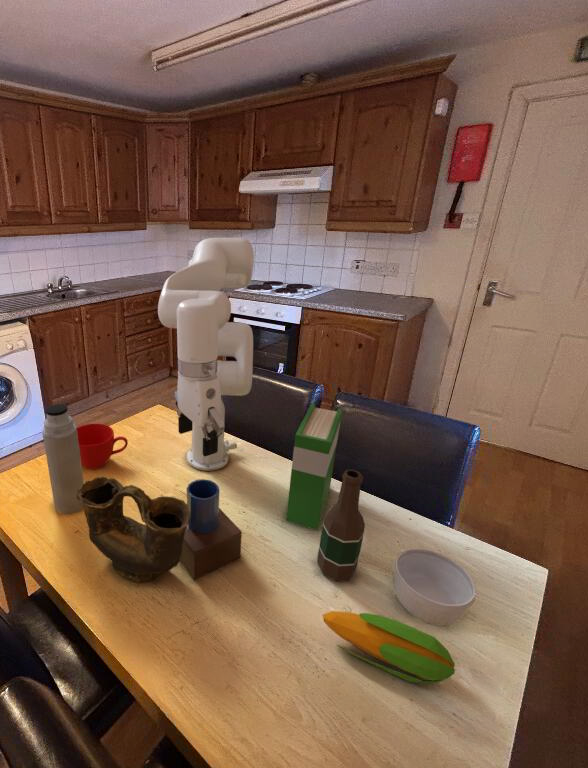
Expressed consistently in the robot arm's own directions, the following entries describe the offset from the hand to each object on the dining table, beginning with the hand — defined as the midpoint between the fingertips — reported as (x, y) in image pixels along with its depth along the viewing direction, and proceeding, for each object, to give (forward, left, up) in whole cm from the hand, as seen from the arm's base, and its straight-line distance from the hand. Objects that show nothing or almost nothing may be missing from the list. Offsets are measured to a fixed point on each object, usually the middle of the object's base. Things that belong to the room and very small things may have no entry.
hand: (197, 442), depth 86 cm
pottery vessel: (+15, 0, -26) cm, 30 cm away
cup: (+1, +4, -18) cm, 19 cm away
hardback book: (-31, +3, -26) cm, 41 cm away
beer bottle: (-21, +21, -26) cm, 40 cm away
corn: (-13, +38, -26) cm, 48 cm away
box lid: (+1, +3, -19) cm, 19 cm away
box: (+1, +3, -26) cm, 26 cm away
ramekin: (-30, +35, -26) cm, 53 cm away
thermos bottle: (+23, -27, -26) cm, 43 cm away
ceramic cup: (+10, -41, -26) cm, 49 cm away
